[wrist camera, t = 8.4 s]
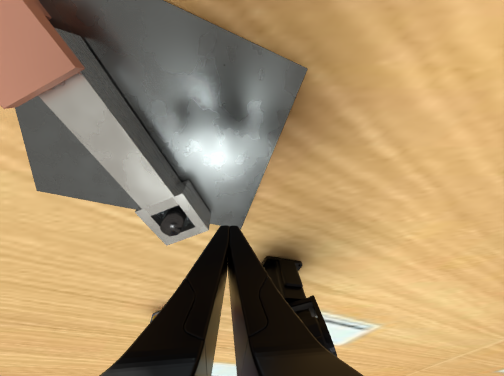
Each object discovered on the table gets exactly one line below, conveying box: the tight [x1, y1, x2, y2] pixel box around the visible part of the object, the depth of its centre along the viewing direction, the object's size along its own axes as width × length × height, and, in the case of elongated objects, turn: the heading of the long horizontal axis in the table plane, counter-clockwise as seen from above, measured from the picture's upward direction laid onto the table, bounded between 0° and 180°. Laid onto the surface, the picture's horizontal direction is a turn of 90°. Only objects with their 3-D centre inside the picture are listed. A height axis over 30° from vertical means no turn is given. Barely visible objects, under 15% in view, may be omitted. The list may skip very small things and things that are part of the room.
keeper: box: [0, 0, 85, 109], centre depth 11 cm, size 6×6×5 cm
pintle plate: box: [15, 0, 307, 236], centre depth 15 cm, size 19×22×5 cm
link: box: [38, 28, 211, 245], centre depth 16 cm, size 18×5×3 cm, turn 21°
